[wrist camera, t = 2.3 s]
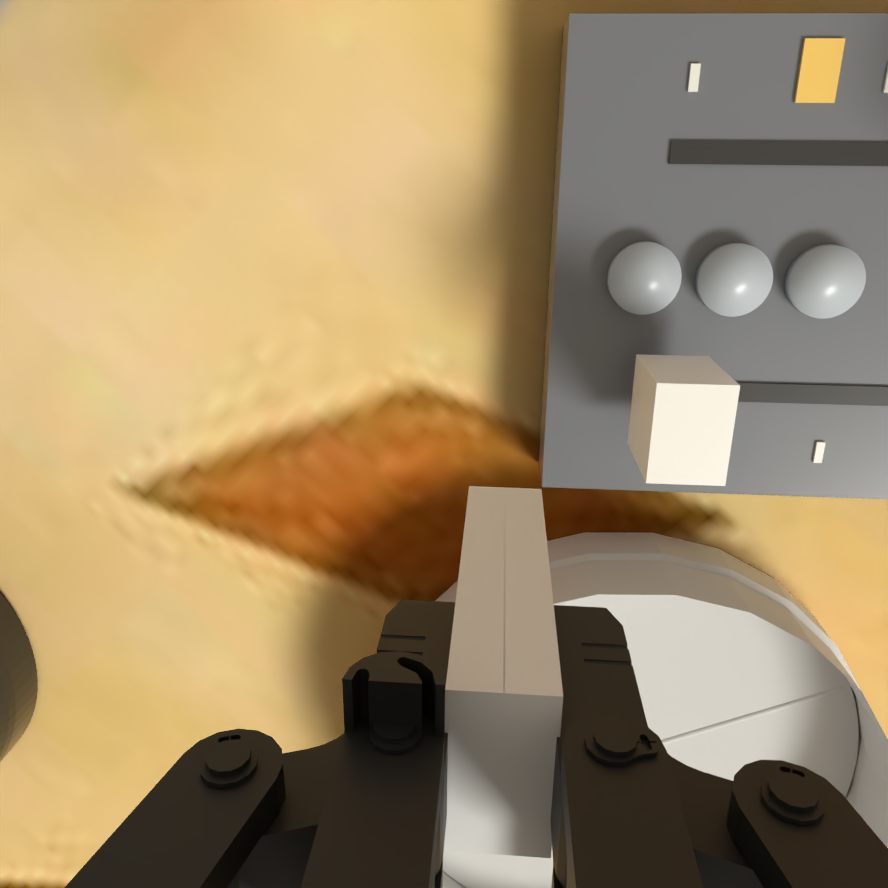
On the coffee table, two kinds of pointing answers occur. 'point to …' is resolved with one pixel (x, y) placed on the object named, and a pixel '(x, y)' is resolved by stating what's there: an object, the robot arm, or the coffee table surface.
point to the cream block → (682, 419)
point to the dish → (712, 675)
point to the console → (723, 242)
